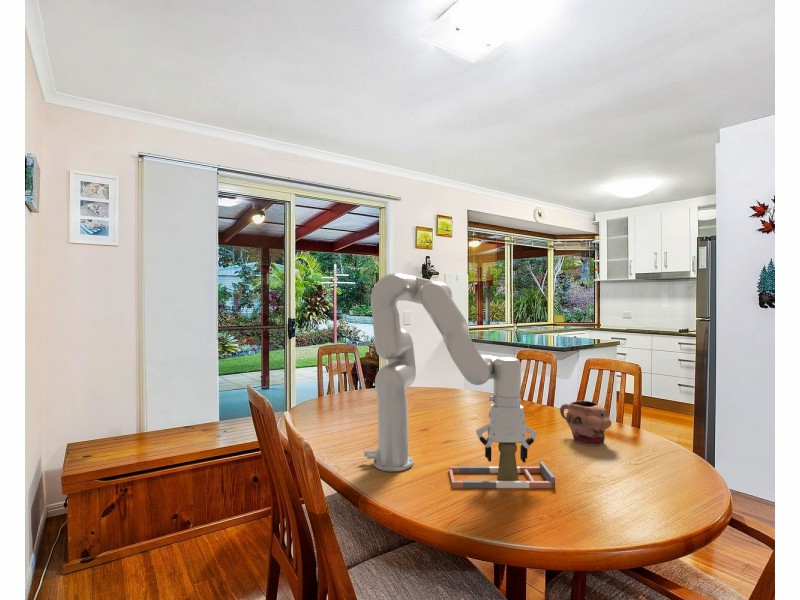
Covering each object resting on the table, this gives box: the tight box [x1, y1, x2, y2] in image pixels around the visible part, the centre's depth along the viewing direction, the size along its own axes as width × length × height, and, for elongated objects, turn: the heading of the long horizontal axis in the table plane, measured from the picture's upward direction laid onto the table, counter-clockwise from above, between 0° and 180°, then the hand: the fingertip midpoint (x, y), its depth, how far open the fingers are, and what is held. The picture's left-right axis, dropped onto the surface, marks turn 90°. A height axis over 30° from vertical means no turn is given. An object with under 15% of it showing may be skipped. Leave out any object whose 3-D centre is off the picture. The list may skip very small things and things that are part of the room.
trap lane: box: [448, 461, 556, 489], centre depth 122 cm, size 28×11×3 cm, turn 88°
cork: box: [496, 443, 520, 481], centre depth 122 cm, size 6×6×11 cm
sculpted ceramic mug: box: [559, 400, 612, 446], centre depth 153 cm, size 20×12×14 cm, turn 38°
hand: (505, 460), depth 122 cm, fingers open, 9 cm apart
